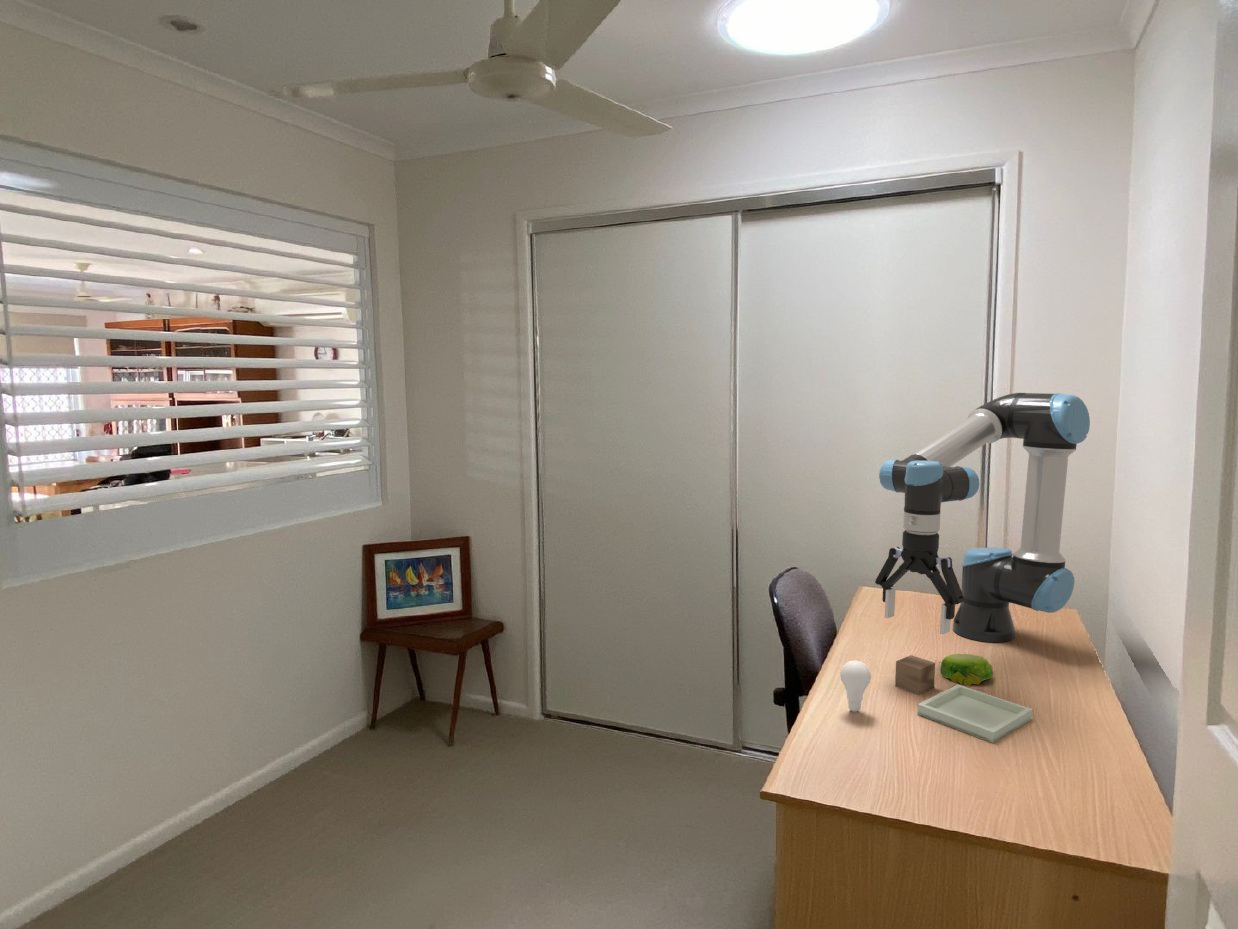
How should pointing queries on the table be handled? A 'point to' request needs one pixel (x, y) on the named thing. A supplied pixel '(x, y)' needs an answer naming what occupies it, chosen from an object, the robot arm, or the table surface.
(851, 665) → the lightbulb
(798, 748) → the table surface
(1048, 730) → the table surface
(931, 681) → the cube
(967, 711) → the tray
